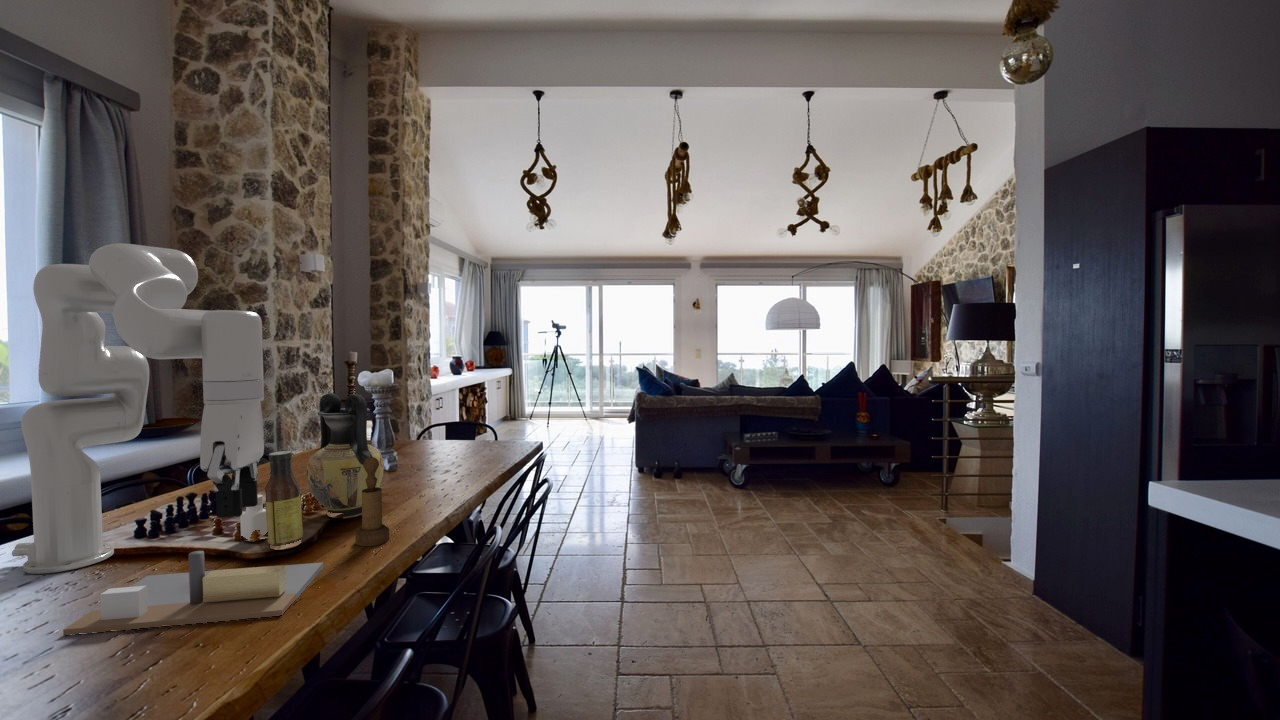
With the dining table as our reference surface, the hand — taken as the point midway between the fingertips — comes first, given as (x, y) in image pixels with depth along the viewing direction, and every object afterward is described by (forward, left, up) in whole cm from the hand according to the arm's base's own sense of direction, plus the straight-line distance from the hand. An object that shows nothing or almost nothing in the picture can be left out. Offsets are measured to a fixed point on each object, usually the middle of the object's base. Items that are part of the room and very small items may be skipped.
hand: (237, 510), depth 88 cm
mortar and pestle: (+11, +34, -18) cm, 39 cm away
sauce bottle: (-6, +34, -18) cm, 38 cm away
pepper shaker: (-14, +40, -18) cm, 45 cm away
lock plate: (-9, +10, -17) cm, 22 cm away
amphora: (0, +56, -18) cm, 58 cm away
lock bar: (-2, +6, -16) cm, 17 cm away
